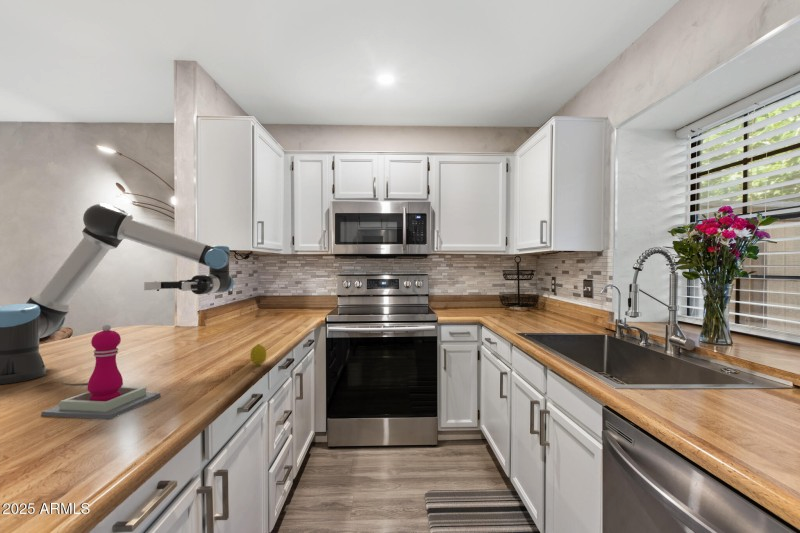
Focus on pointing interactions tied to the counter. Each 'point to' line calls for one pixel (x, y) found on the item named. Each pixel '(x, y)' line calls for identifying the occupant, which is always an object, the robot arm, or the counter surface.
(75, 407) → the pocket board
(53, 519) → the counter surface
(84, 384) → the pliers
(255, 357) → the lemon
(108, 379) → the pepper mill
